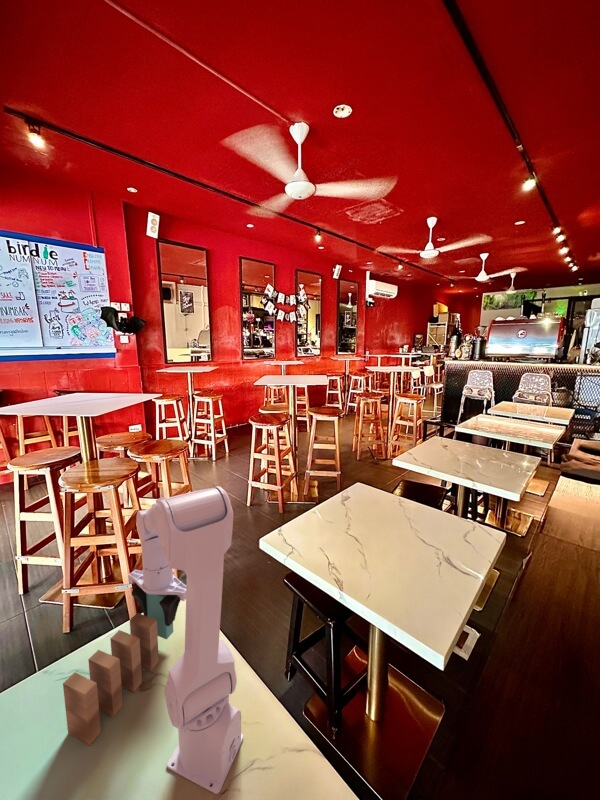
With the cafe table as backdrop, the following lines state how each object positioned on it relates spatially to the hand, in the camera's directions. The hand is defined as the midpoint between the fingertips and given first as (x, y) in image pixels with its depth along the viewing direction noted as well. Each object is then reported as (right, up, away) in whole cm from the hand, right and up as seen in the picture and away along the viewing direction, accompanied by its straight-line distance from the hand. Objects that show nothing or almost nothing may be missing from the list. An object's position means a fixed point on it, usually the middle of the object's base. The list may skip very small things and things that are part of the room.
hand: (160, 618), depth 72 cm
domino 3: (-3, -8, -7) cm, 11 cm away
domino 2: (-5, -8, -12) cm, 15 cm away
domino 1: (-6, -9, -16) cm, 19 cm away
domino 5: (0, -3, +1) cm, 3 cm away
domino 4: (-2, -7, -3) cm, 8 cm away
